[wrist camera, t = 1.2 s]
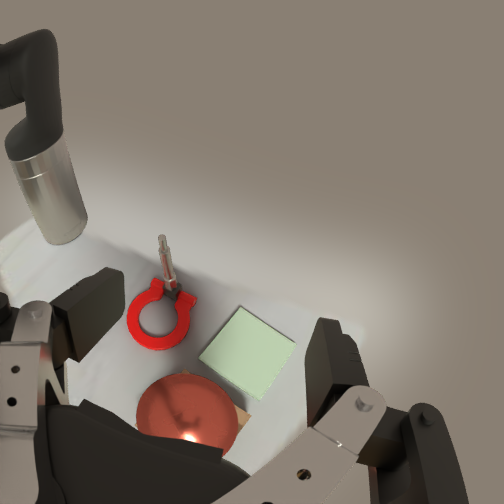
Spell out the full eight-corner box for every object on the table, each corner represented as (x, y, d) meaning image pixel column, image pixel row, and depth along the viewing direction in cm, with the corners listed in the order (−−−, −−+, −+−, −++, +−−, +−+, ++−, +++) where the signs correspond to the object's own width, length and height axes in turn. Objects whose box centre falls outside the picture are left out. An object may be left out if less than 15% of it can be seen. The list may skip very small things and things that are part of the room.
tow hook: (172, 362, 31) (203, 302, 36) (153, 331, 20) (203, 247, 26) (117, 331, 32) (151, 277, 37) (80, 287, 21) (133, 217, 27)
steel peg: (154, 425, 25) (116, 422, 13) (187, 386, 29) (177, 354, 17) (200, 459, 24) (199, 485, 12) (233, 418, 28) (257, 411, 16)
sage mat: (198, 358, 31) (198, 357, 31) (239, 308, 37) (240, 306, 36) (258, 400, 29) (259, 400, 29) (295, 345, 35) (296, 344, 34)
